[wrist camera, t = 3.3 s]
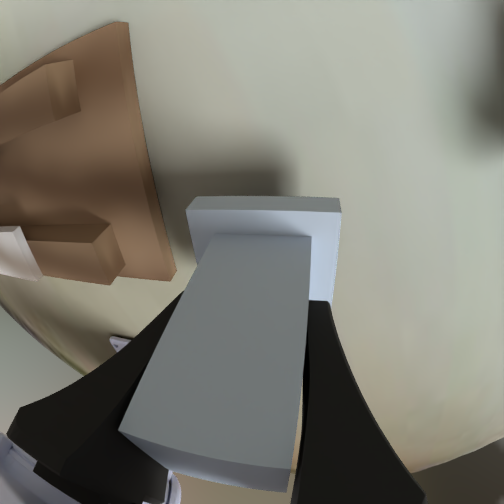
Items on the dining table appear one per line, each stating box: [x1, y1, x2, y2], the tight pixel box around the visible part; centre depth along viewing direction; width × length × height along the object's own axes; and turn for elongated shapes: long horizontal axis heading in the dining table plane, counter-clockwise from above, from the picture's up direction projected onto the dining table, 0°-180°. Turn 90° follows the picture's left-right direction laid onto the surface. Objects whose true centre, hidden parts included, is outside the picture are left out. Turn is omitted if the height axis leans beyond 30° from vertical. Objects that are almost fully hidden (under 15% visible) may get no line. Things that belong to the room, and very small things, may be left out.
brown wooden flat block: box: [0, 22, 177, 285], centre depth 14 cm, size 14×22×4 cm, turn 95°
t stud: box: [118, 196, 341, 492], centre depth 9 cm, size 6×6×9 cm
